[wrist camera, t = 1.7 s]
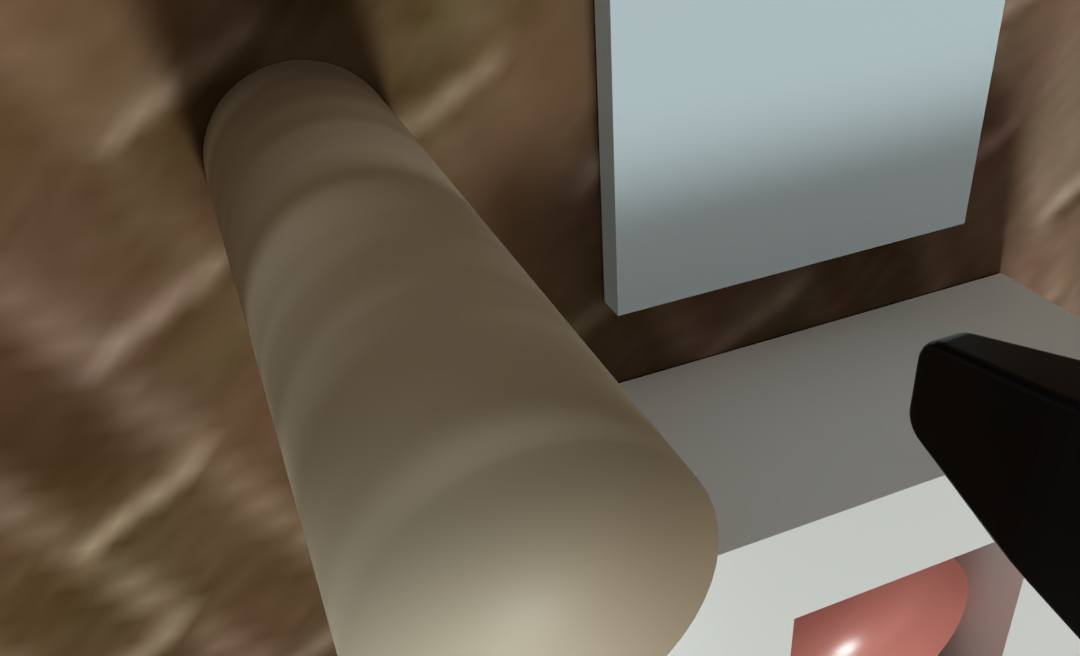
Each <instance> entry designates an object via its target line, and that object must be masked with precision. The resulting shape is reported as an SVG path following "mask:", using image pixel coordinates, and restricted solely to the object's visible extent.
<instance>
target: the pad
mask: <svg viewBox="0 0 1080 656" xmlns="http://www.w3.org/2000/svg"><path fill="white" fill-rule="evenodd" d="M594 2H595V32H596V62H597V92H598V122H599V152H600V182H601V212H602V242H603V272H604V302H605V303H606V304H607V305H608V306H609V307H610V308H611V309H612V310H613V311H614V312H615V313H616V314H617V316H620V315H624V314H628V313H631V312H635V311H639V310H643V309H646V308H650V307H654V306H658V305H661V304H665V303H669V302H673V301H676V300H680V299H684V298H687V297H691V296H695V295H699V294H702V293H706V292H710V291H714V290H717V289H721V288H725V287H729V286H732V285H736V284H740V283H744V282H747V281H751V280H755V279H758V278H762V277H766V276H770V275H773V274H777V273H781V272H785V271H788V270H792V269H796V268H800V267H803V266H807V265H811V264H815V263H818V262H822V261H826V260H830V259H833V258H837V257H841V256H844V255H848V254H852V253H856V252H859V251H863V250H867V249H871V248H874V247H878V246H882V245H886V244H889V243H893V242H897V241H901V240H904V239H908V238H912V237H915V236H919V235H923V234H927V233H930V232H934V231H938V230H942V229H945V228H949V227H953V226H957V225H960V224H964V223H965V217H966V212H967V206H968V201H969V195H970V190H971V184H972V179H973V174H974V168H975V163H976V157H977V152H978V146H979V141H980V135H981V130H982V124H983V119H984V113H985V108H986V102H987V97H988V91H989V86H990V81H991V75H992V70H993V64H994V59H995V53H996V48H997V42H998V37H999V31H1000V26H1001V20H1002V15H1003V9H1004V4H1005V0H594Z"/></svg>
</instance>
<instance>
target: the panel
mask: <svg viewBox="0 0 1080 656" xmlns="http://www.w3.org/2000/svg"><path fill="white" fill-rule="evenodd" d="M956 333H972V334H976V335H981V336H985V337H989V338H993V339H997V340H1001V341H1005V342H1009V343H1013V344H1017V345H1021V346H1025V347H1029V348H1033V349H1037V350H1041V351H1045V352H1049V353H1053V354H1057V355H1061V356H1066V357H1070V358H1074V359H1078V360H1080V318H1079V317H1077V316H1075V315H1074V314H1072V313H1070V312H1068V311H1067V310H1065V309H1063V308H1062V307H1060V306H1058V305H1056V304H1055V303H1053V302H1051V301H1049V300H1048V299H1046V298H1044V297H1043V296H1041V295H1039V294H1037V293H1036V292H1034V291H1032V290H1030V289H1029V288H1027V287H1025V286H1023V285H1022V284H1020V283H1018V282H1017V281H1015V280H1013V279H1011V278H1010V277H1008V276H1006V275H1004V274H1003V273H999V274H996V275H992V276H989V277H985V278H982V279H978V280H975V281H972V282H968V283H965V284H961V285H958V286H954V287H951V288H947V289H944V290H940V291H937V292H933V293H930V294H927V295H923V296H920V297H916V298H913V299H909V300H906V301H902V302H899V303H895V304H892V305H888V306H885V307H881V308H878V309H875V310H871V311H868V312H864V313H861V314H857V315H854V316H850V317H847V318H843V319H840V320H836V321H833V322H830V323H826V324H823V325H819V326H816V327H812V328H809V329H805V330H802V331H798V332H795V333H791V334H788V335H785V336H781V337H778V338H774V339H771V340H767V341H764V342H760V343H757V344H753V345H750V346H746V347H743V348H740V349H736V350H733V351H729V352H726V353H722V354H719V355H715V356H712V357H708V358H705V359H701V360H698V361H695V362H691V363H688V364H684V365H681V366H677V367H674V368H670V369H667V370H663V371H660V372H656V373H653V374H650V375H646V376H643V377H639V378H636V379H632V380H629V381H625V382H622V383H619V385H620V386H621V387H622V388H623V389H624V391H625V392H626V393H627V394H628V395H629V397H630V398H631V399H632V400H633V401H634V403H635V404H636V405H637V406H638V407H639V409H640V410H641V411H642V412H643V413H644V415H645V416H646V417H647V418H648V419H649V421H650V422H651V423H652V424H653V425H654V427H655V428H656V429H657V430H658V431H659V433H660V434H661V435H662V436H663V437H664V439H665V440H666V441H667V442H668V443H669V445H670V446H671V447H672V448H673V449H674V451H675V452H676V453H677V454H678V455H679V457H680V458H681V459H682V460H683V462H684V463H685V464H686V465H687V466H688V468H689V469H690V470H691V471H692V472H693V474H694V475H695V476H696V477H697V478H698V480H699V481H700V483H701V484H702V486H703V487H704V489H705V490H706V492H707V493H708V495H709V497H710V500H711V502H712V505H713V507H714V509H715V514H716V519H717V523H718V534H719V548H718V556H717V564H716V568H715V572H714V575H713V579H712V583H711V585H710V588H709V590H708V593H707V595H706V598H705V600H704V602H703V604H702V606H701V608H700V610H699V611H698V613H697V615H696V617H695V619H694V620H693V622H692V623H691V625H690V626H689V628H688V629H687V631H686V632H685V634H684V635H683V637H682V638H681V639H680V641H679V642H678V643H677V644H676V645H675V647H674V648H673V649H672V650H671V652H670V653H669V654H668V655H667V656H790V655H791V646H792V636H793V627H794V619H796V618H798V617H801V616H803V615H806V614H809V613H811V612H814V611H816V610H819V609H822V608H824V607H827V606H829V605H832V604H835V603H837V602H840V601H842V600H845V599H848V598H850V597H853V596H855V595H858V594H861V593H863V592H866V591H868V590H871V589H874V588H876V587H879V586H881V585H884V584H887V583H889V582H892V581H894V580H897V579H900V578H902V577H905V576H907V575H910V574H913V573H915V572H918V571H920V570H923V569H926V568H928V567H931V566H933V565H936V564H939V563H941V562H944V561H946V560H949V559H952V558H954V559H955V560H956V561H957V562H958V563H959V564H960V565H961V566H962V568H963V569H964V572H965V574H966V576H967V582H968V596H967V602H966V606H965V609H964V612H963V615H962V617H961V620H960V622H959V624H958V626H957V628H956V630H955V632H954V633H953V635H952V637H951V638H950V640H949V641H948V643H947V644H946V646H945V647H944V648H943V649H942V651H941V652H940V653H939V655H938V656H1080V639H1079V638H1078V637H1077V636H1076V635H1075V634H1074V633H1073V631H1072V630H1071V629H1070V628H1069V627H1068V626H1067V625H1066V624H1065V623H1064V622H1063V620H1062V619H1061V618H1060V617H1059V616H1058V615H1057V614H1056V613H1055V612H1054V610H1053V609H1052V608H1051V607H1050V606H1049V605H1048V604H1047V603H1046V602H1045V600H1044V599H1043V598H1042V597H1041V596H1040V595H1039V594H1038V593H1037V592H1036V591H1035V589H1034V588H1033V587H1032V586H1031V585H1030V584H1029V583H1028V582H1027V581H1026V579H1025V578H1024V577H1023V576H1022V575H1021V574H1020V572H1019V571H1018V570H1017V569H1016V568H1015V567H1014V565H1013V564H1012V563H1011V562H1010V561H1009V560H1008V558H1007V557H1006V556H1005V555H1004V553H1003V552H1002V551H1001V549H1000V548H999V547H998V546H997V544H996V543H995V542H994V540H993V539H992V538H991V536H990V535H989V534H988V532H987V531H986V530H985V528H984V527H983V526H982V524H981V523H980V522H979V520H978V519H977V518H976V516H975V515H974V514H973V512H972V511H971V510H970V508H969V507H968V506H967V504H966V503H965V501H964V500H963V499H962V497H961V496H960V495H959V493H958V492H957V491H956V489H955V488H954V487H953V485H952V484H951V483H950V481H949V480H948V479H947V477H946V476H945V475H944V473H943V472H942V471H941V469H940V468H939V467H938V465H937V464H936V462H935V461H934V460H933V458H932V457H931V456H930V454H929V453H928V452H927V450H926V449H925V448H924V446H923V445H922V444H921V442H920V441H919V440H918V438H917V436H916V435H915V433H914V431H913V428H912V425H911V422H910V414H909V412H910V404H911V398H912V392H913V386H914V380H915V374H916V368H917V362H918V357H919V354H920V352H921V350H922V349H923V347H924V345H926V344H927V343H929V342H931V341H933V340H936V339H940V338H943V337H946V336H949V335H953V334H956Z"/></svg>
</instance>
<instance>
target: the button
mask: <svg viewBox="0 0 1080 656" xmlns="http://www.w3.org/2000/svg"><path fill="white" fill-rule="evenodd" d="M967 596H968V582H967V576H966V574H965V572H964V569H963V568H962V566H961V565H960V564H959V563H958V562H957V561H956V560H955V559H954V558H952V559H949V560H946V561H944V562H941V563H939V564H936V565H933V566H931V567H928V568H926V569H923V570H920V571H918V572H915V573H913V574H910V575H907V576H905V577H902V578H900V579H897V580H894V581H892V582H889V583H887V584H884V585H881V586H879V587H876V588H874V589H871V590H868V591H866V592H863V593H861V594H858V595H855V596H853V597H850V598H848V599H845V600H842V601H840V602H837V603H835V604H832V605H829V606H827V607H824V608H822V609H819V610H816V611H814V612H811V613H809V614H806V615H803V616H801V617H798V618H796V619H794V627H793V636H792V646H791V655H790V656H938V655H939V653H940V652H941V651H942V649H943V648H944V647H945V646H946V644H947V643H948V641H949V640H950V638H951V637H952V635H953V633H954V632H955V630H956V628H957V626H958V624H959V622H960V620H961V617H962V615H963V612H964V609H965V606H966V602H967Z"/></svg>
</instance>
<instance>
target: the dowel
mask: <svg viewBox="0 0 1080 656" xmlns="http://www.w3.org/2000/svg"><path fill="white" fill-rule="evenodd" d="M203 165H204V170H205V175H206V179H207V183H208V186H209V190H210V194H211V197H212V201H213V205H214V208H215V212H216V215H217V219H218V223H219V226H220V230H221V234H222V237H223V241H224V245H225V248H226V252H227V255H228V259H229V263H230V266H231V270H232V274H233V277H234V281H235V285H236V288H237V292H238V295H239V299H240V303H241V306H242V310H243V314H244V317H245V321H246V325H247V328H248V332H249V335H250V339H251V343H252V346H253V350H254V354H255V357H256V361H257V365H258V368H259V372H260V375H261V379H262V383H263V386H264V390H265V394H266V397H267V401H268V405H269V408H270V412H271V415H272V419H273V423H274V426H275V430H276V434H277V437H278V441H279V445H280V448H281V452H282V455H283V459H284V463H285V466H286V470H287V474H288V477H289V481H290V485H291V488H292V492H293V496H294V499H295V503H296V506H297V510H298V514H299V517H300V521H301V525H302V528H303V532H304V536H305V539H306V543H307V546H308V550H309V554H310V557H311V561H312V565H313V568H314V572H315V576H316V579H317V583H318V586H319V590H320V594H321V597H322V601H323V605H324V608H325V612H326V616H327V619H328V623H329V626H330V630H331V634H332V637H333V641H334V645H335V648H336V652H337V656H667V655H668V654H669V653H670V652H671V650H672V649H673V648H674V647H675V645H676V644H677V643H678V642H679V641H680V639H681V638H682V637H683V635H684V634H685V632H686V631H687V629H688V628H689V626H690V625H691V623H692V622H693V620H694V619H695V617H696V615H697V613H698V611H699V610H700V608H701V606H702V604H703V602H704V600H705V598H706V595H707V593H708V590H709V588H710V585H711V583H712V579H713V575H714V572H715V568H716V564H717V556H718V548H719V534H718V523H717V519H716V514H715V509H714V507H713V505H712V502H711V500H710V497H709V495H708V493H707V492H706V490H705V489H704V487H703V486H702V484H701V483H700V481H699V480H698V478H697V477H696V476H695V475H694V474H693V472H692V471H691V470H690V469H689V468H688V466H687V465H686V464H685V463H684V462H683V460H682V459H681V458H680V457H679V455H678V454H677V453H676V452H675V451H674V449H673V448H672V447H671V446H670V445H669V443H668V442H667V441H666V440H665V439H664V437H663V436H662V435H661V434H660V433H659V431H658V430H657V429H656V428H655V427H654V425H653V424H652V423H651V422H650V421H649V419H648V418H647V417H646V416H645V415H644V413H643V412H642V411H641V410H640V409H639V407H638V406H637V405H636V404H635V403H634V401H633V400H632V399H631V398H630V397H629V395H628V394H627V393H626V392H625V391H624V389H623V388H622V387H621V386H620V385H619V383H618V382H617V381H616V380H615V379H614V377H613V376H612V375H611V374H610V373H609V371H608V370H607V369H606V368H605V367H604V365H603V364H602V363H601V362H600V360H599V359H598V358H597V357H596V356H595V354H594V353H593V352H592V351H591V350H590V348H589V347H588V346H587V345H586V344H585V342H584V341H583V340H582V339H581V338H580V336H579V335H578V334H577V333H576V332H575V330H574V329H573V328H572V327H571V326H570V324H569V323H568V322H567V321H566V320H565V318H564V317H563V316H562V315H561V314H560V312H559V311H558V310H557V309H556V308H555V306H554V305H553V304H552V303H551V302H550V300H549V299H548V298H547V297H546V296H545V294H544V293H543V292H542V291H541V290H540V288H539V287H538V286H537V285H536V284H535V282H534V281H533V280H532V279H531V278H530V276H529V275H528V274H527V273H526V272H525V270H524V269H523V268H522V267H521V265H520V264H519V263H518V262H517V261H516V259H515V258H514V257H513V256H512V255H511V253H510V252H509V251H508V250H507V249H506V247H505V246H504V245H503V244H502V243H501V241H500V240H499V239H498V238H497V237H496V235H495V234H494V233H493V232H492V231H491V229H490V228H489V227H488V226H487V225H486V223H485V222H484V221H483V220H482V219H481V217H480V216H479V215H478V214H477V213H476V211H475V210H474V209H473V208H472V207H471V205H470V204H469V203H468V202H467V201H466V199H465V198H464V197H463V196H462V195H461V193H460V192H459V191H458V190H457V189H456V187H455V186H454V185H453V184H452V183H451V181H450V180H449V179H448V178H447V177H446V175H445V174H444V173H443V172H442V170H441V169H440V168H439V167H438V166H437V164H436V163H435V162H434V161H433V160H432V158H431V157H430V156H429V155H428V154H427V152H426V151H425V150H424V149H423V148H422V146H421V145H420V144H419V143H418V142H417V140H416V139H415V138H414V137H413V136H412V134H411V133H410V132H409V131H408V130H407V128H406V127H405V126H404V125H403V124H402V122H401V121H400V120H399V119H398V118H397V116H396V115H395V114H394V113H393V112H392V110H391V109H390V108H389V107H388V106H387V104H386V103H385V102H384V101H383V100H382V98H381V97H380V96H379V95H378V94H377V93H376V92H375V90H374V89H373V88H372V87H371V86H370V85H369V84H367V83H366V82H365V81H364V80H362V79H361V78H360V77H358V76H357V75H355V74H353V73H352V72H350V71H348V70H346V69H344V68H341V67H339V66H337V65H333V64H330V63H326V62H321V61H315V60H290V61H283V62H279V63H274V64H271V65H268V66H266V67H263V68H260V69H258V70H256V71H254V72H253V73H251V74H249V75H247V76H246V77H244V78H243V79H242V80H240V81H239V82H238V83H236V84H235V85H234V86H233V87H232V88H231V89H230V90H229V91H228V92H227V93H226V94H225V95H224V97H223V98H222V99H221V101H220V102H219V103H218V105H217V107H216V108H215V110H214V112H213V113H212V116H211V118H210V120H209V123H208V125H207V129H206V133H205V137H204V144H203Z"/></svg>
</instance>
